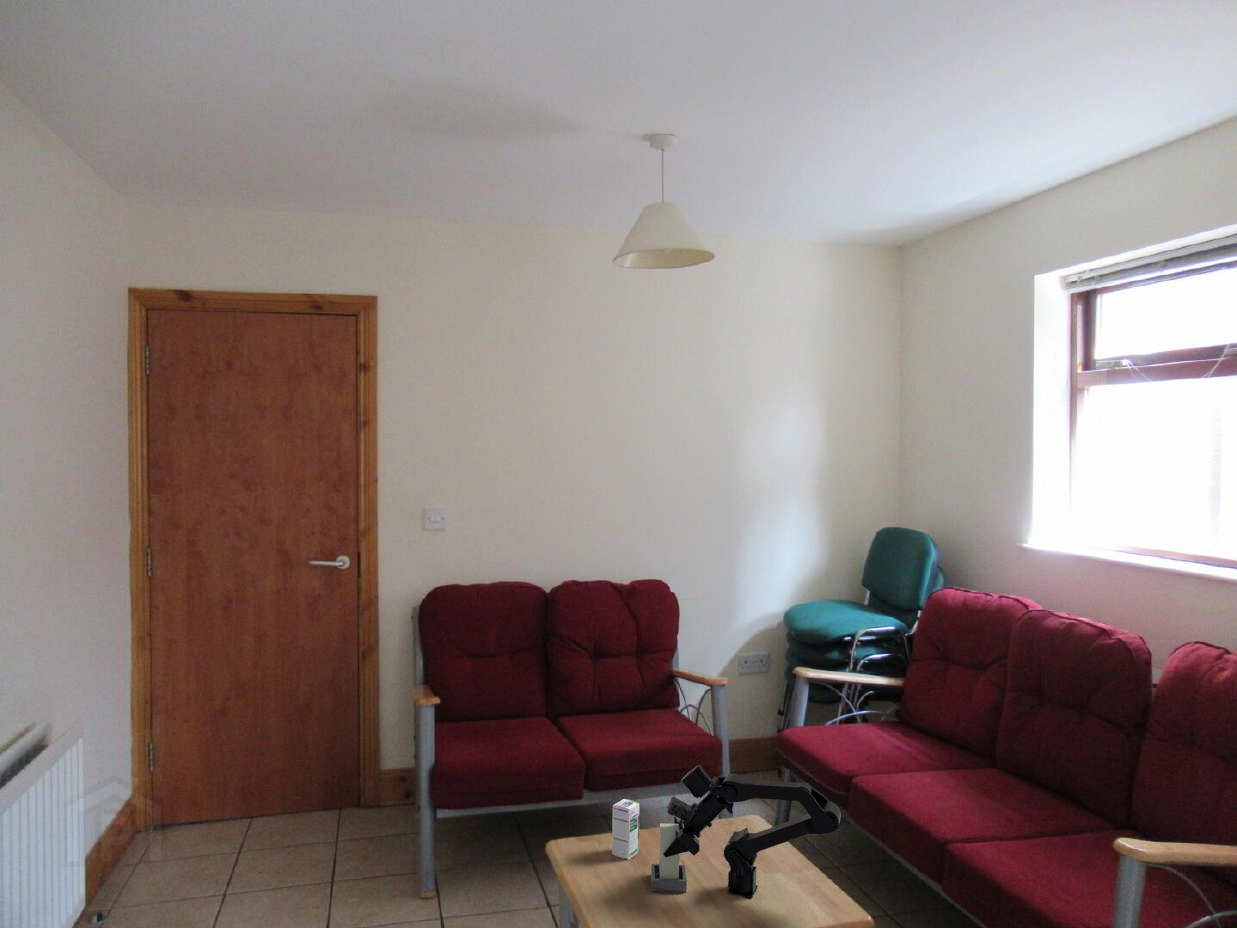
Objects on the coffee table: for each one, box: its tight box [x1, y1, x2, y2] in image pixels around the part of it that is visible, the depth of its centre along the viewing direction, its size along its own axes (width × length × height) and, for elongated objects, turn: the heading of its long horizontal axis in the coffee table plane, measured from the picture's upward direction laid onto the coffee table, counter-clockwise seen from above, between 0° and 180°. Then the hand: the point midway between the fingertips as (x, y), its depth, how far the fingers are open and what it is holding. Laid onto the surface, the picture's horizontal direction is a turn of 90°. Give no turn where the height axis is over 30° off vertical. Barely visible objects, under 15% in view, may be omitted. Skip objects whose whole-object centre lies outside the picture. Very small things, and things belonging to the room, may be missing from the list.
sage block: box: [659, 823, 680, 880], centre depth 238 cm, size 5×5×13 cm
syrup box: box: [611, 798, 640, 860], centre depth 254 cm, size 6×6×14 cm
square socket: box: [650, 863, 688, 894], centre depth 238 cm, size 9×9×3 cm
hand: (664, 851), depth 238 cm, fingers closed on sage block, 5 cm apart
